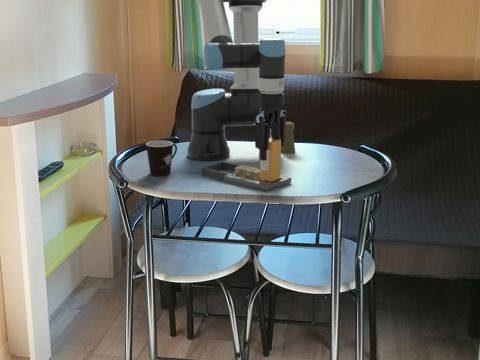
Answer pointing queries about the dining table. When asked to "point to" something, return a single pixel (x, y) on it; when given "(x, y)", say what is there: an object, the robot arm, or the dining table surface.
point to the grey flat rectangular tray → (257, 182)
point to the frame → (218, 170)
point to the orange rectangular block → (273, 161)
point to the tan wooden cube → (254, 174)
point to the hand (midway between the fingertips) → (269, 168)
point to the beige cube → (242, 170)
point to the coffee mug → (160, 157)
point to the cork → (288, 139)
